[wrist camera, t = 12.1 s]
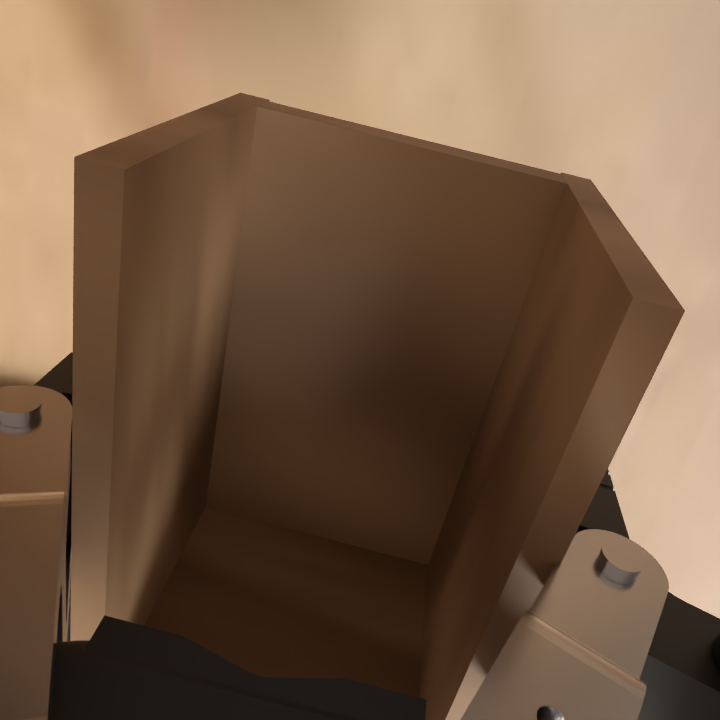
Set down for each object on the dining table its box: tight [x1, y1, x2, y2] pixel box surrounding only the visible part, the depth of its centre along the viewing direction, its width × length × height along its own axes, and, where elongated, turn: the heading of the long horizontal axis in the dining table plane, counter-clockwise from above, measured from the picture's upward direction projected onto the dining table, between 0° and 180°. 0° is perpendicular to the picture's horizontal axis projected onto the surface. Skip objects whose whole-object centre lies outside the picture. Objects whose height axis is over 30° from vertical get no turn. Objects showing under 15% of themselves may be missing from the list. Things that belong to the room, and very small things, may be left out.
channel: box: [70, 93, 685, 720], centre depth 11 cm, size 9×6×6 cm, turn 168°
